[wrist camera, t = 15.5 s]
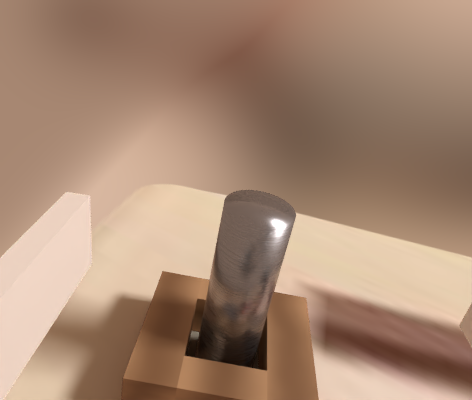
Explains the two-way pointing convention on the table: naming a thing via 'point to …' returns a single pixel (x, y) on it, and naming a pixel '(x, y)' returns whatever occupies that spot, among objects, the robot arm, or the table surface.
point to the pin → (243, 275)
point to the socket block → (211, 372)
